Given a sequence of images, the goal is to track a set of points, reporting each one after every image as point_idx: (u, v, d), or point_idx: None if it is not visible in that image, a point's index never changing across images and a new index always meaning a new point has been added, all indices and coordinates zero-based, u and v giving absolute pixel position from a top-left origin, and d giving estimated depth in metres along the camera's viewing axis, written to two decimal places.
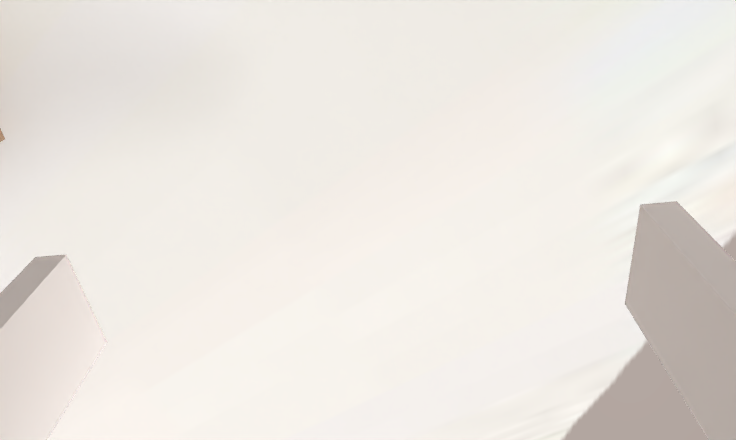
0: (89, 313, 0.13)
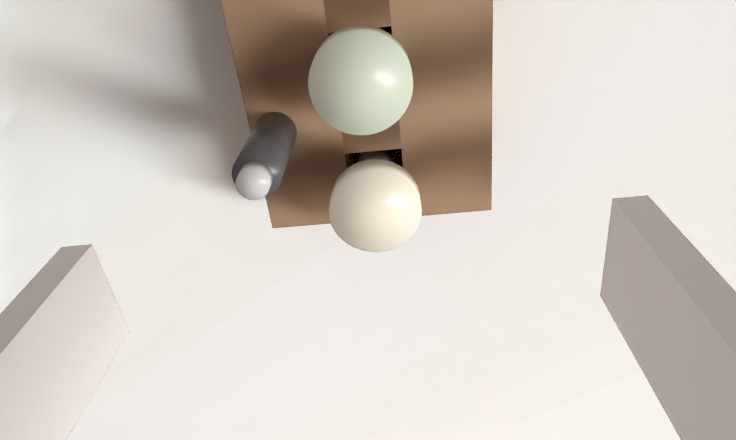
0: (113, 302, 0.14)
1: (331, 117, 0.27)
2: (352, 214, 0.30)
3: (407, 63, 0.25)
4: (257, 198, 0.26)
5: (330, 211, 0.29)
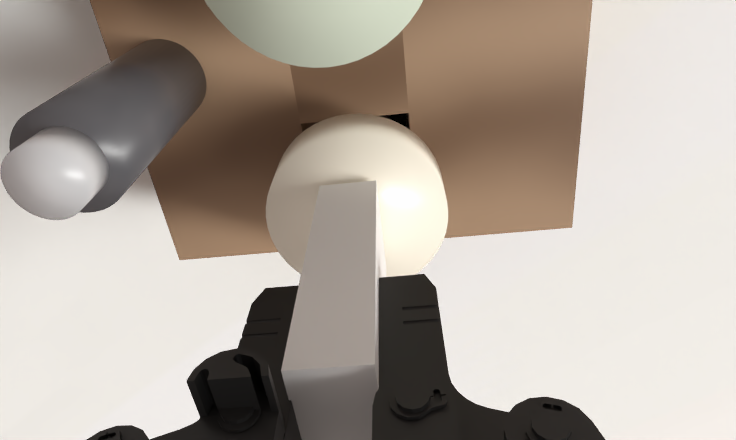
0: None
1: (244, 23, 0.11)
2: None
3: None
4: (63, 216, 0.11)
5: (268, 216, 0.15)
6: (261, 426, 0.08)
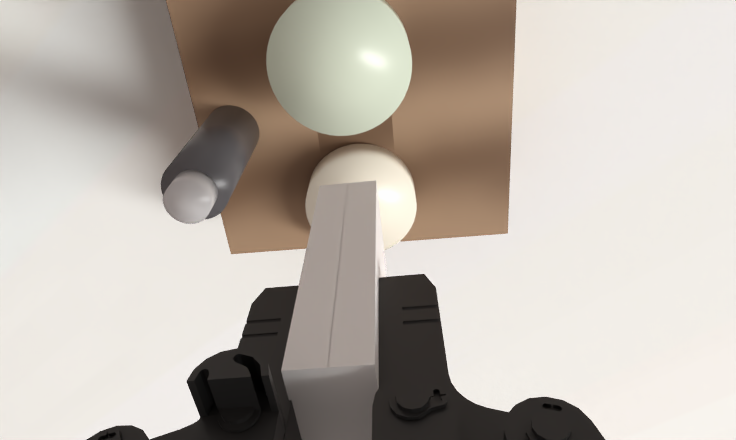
0: None
1: (298, 110, 0.20)
2: None
3: (404, 35, 0.18)
4: (194, 221, 0.19)
5: (307, 205, 0.25)
6: (261, 426, 0.08)
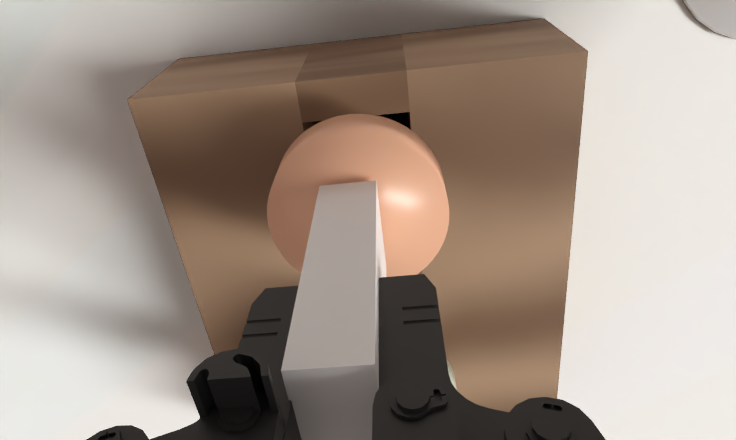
0: None
1: None
2: None
3: None
4: None
5: None
6: (261, 426, 0.08)
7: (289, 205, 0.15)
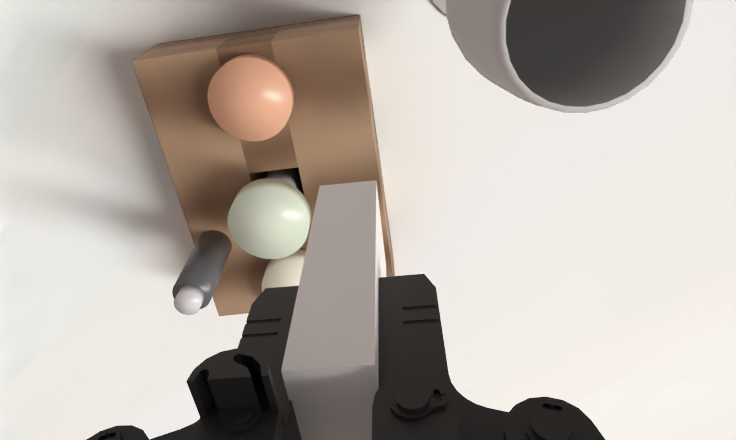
0: None
1: (248, 247, 0.35)
2: None
3: (301, 209, 0.33)
4: (191, 313, 0.34)
5: (262, 289, 0.40)
6: (261, 426, 0.08)
7: (217, 95, 0.33)
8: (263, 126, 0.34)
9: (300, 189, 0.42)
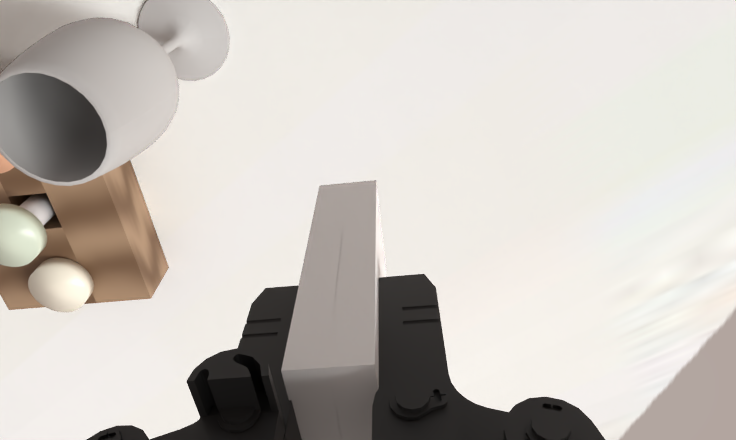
0: None
1: None
2: (43, 291, 0.49)
3: (27, 229, 0.42)
4: None
5: (30, 289, 0.49)
6: (261, 426, 0.08)
7: None
8: (0, 162, 0.42)
9: None
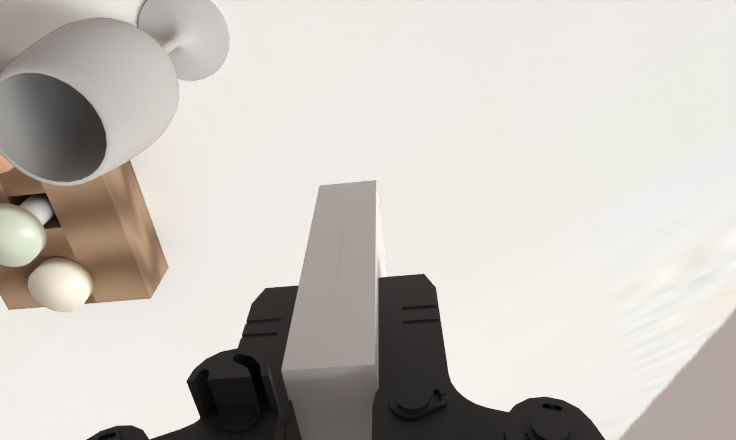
0: None
1: None
2: (43, 290, 0.49)
3: (27, 229, 0.42)
4: None
5: (29, 289, 0.49)
6: (261, 426, 0.08)
7: None
8: None
9: None
